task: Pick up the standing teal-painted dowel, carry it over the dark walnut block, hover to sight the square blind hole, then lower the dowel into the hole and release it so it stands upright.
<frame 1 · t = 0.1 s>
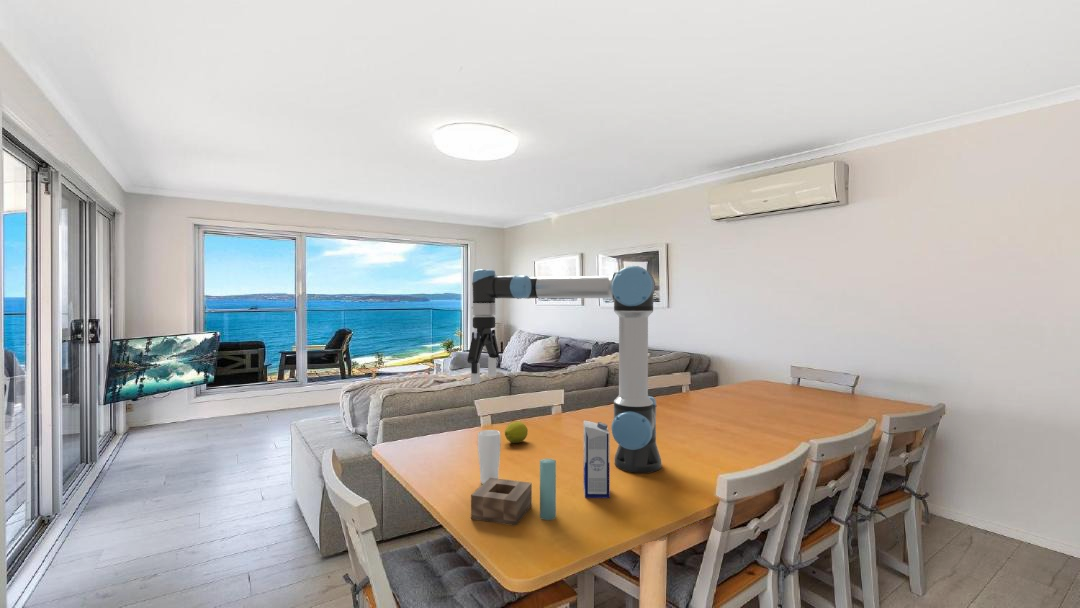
hand: (484, 379, 158), 28 cm above the table, fingers open, 13 cm apart
milk carton: (596, 493, 135), on the table
dowel: (547, 516, 120), on the table
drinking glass: (489, 483, 142), on the table
lemon: (515, 443, 181), on the table
bore block: (502, 511, 123), on the table
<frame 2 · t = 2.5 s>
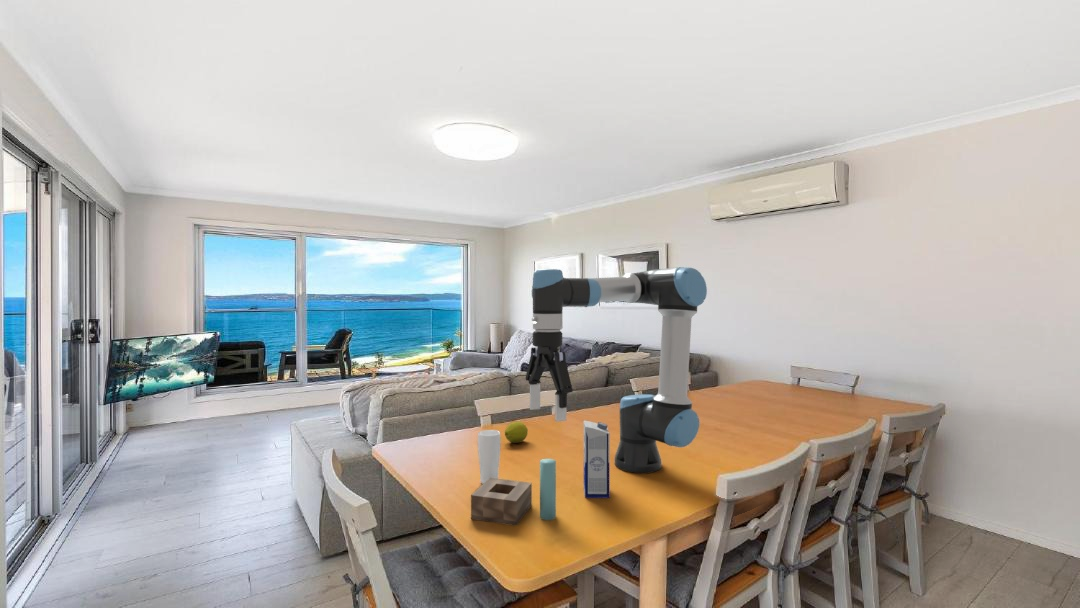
hand: (547, 414, 120), 26 cm above the table, fingers open, 13 cm apart
nothing on the table moved.
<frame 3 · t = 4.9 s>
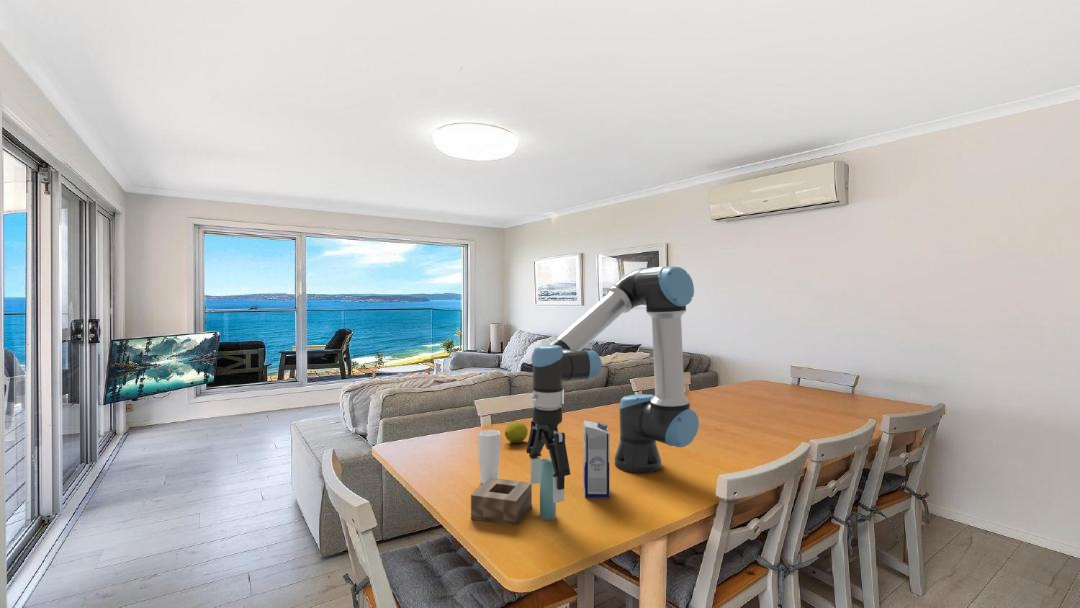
hand: (546, 491, 121), 6 cm above the table, fingers open, 12 cm apart
nothing on the table moved.
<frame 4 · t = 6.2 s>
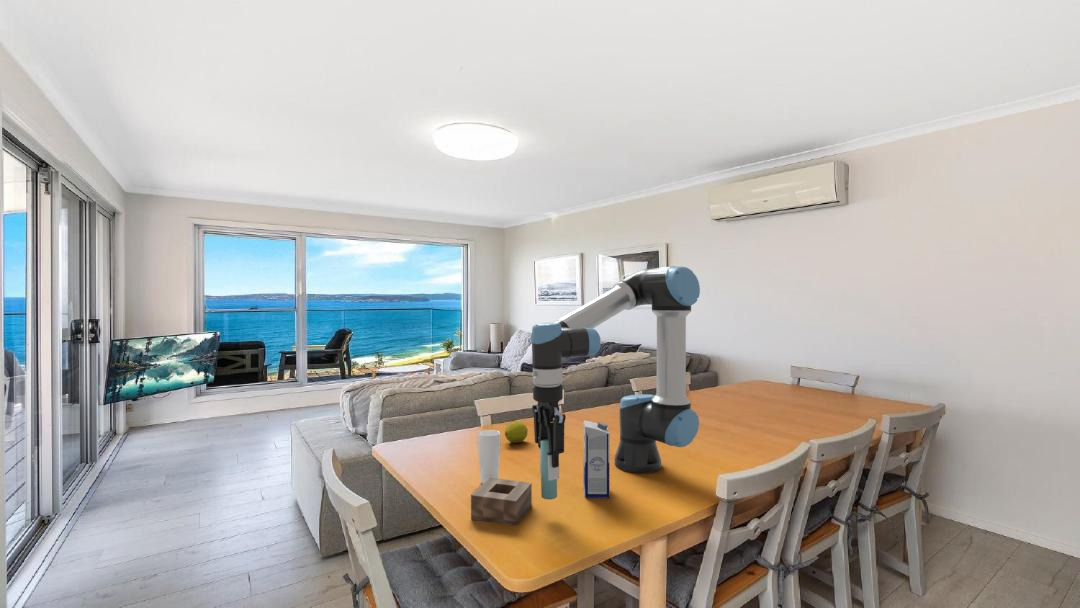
hand: (549, 475, 121), 10 cm above the table, fingers closed on dowel, 4 cm apart
dowel: (549, 496, 121), point 5 cm above the table, touching gripper
everything else where it was.
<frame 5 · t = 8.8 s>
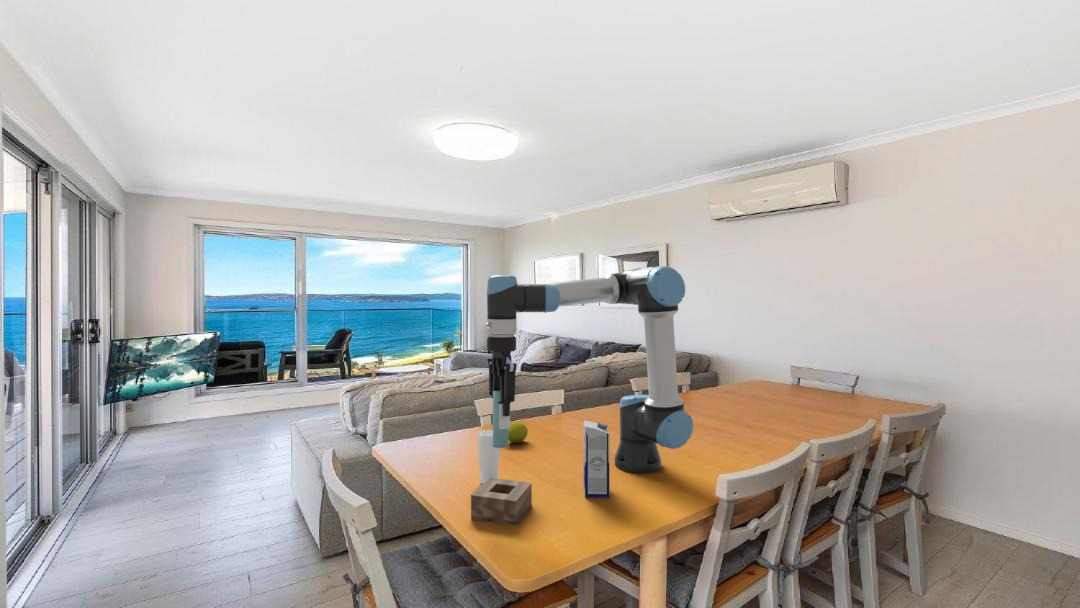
hand: (501, 426, 123), 22 cm above the table, fingers closed on dowel, 4 cm apart
dowel: (500, 445, 123), point 17 cm above the table, touching gripper
everything else where it was.
when the fingers open (7 cm above the table, at t = 11.4 s): dowel drops 1 cm, resting on bore block.
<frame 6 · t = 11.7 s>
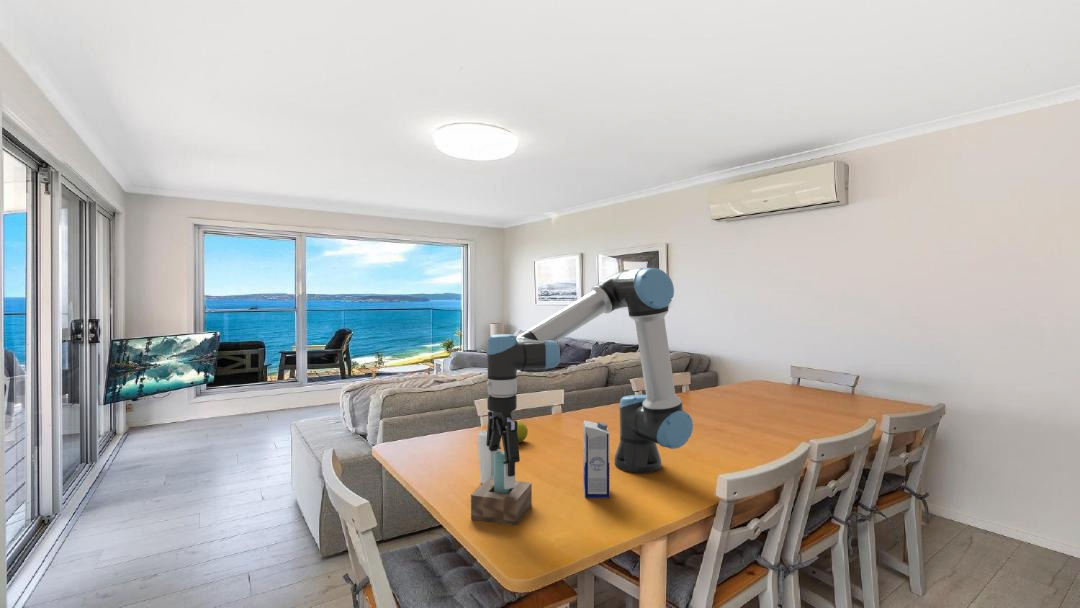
hand: (502, 481, 123), 8 cm above the table, fingers open, 9 cm apart
dowel: (501, 507, 123), point 1 cm above the table, touching bore block
everything else where it was.
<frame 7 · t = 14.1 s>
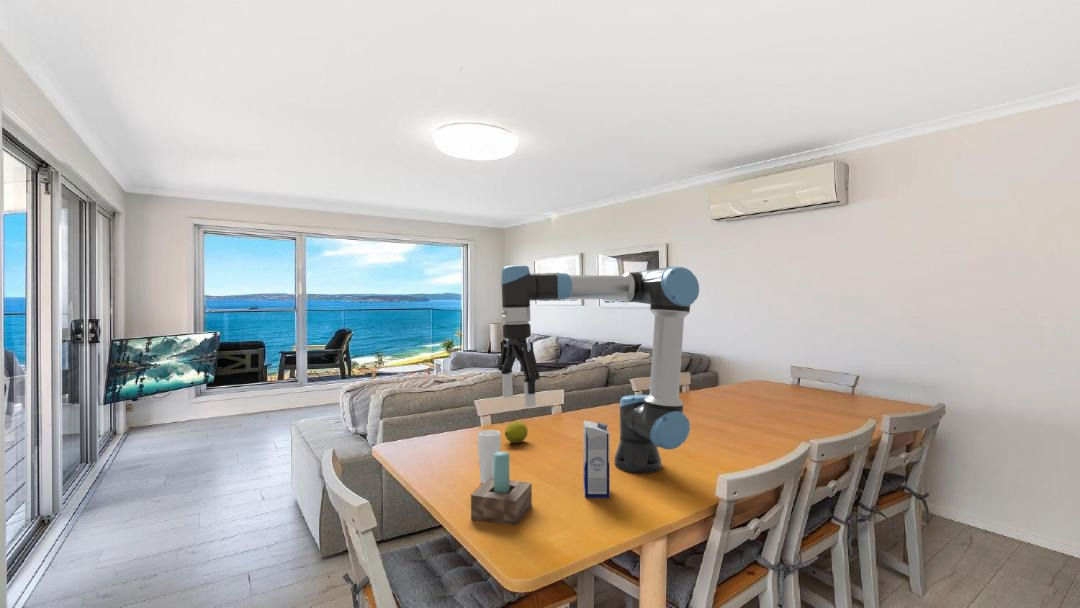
hand: (518, 401, 129), 27 cm above the table, fingers open, 13 cm apart
nothing on the table moved.
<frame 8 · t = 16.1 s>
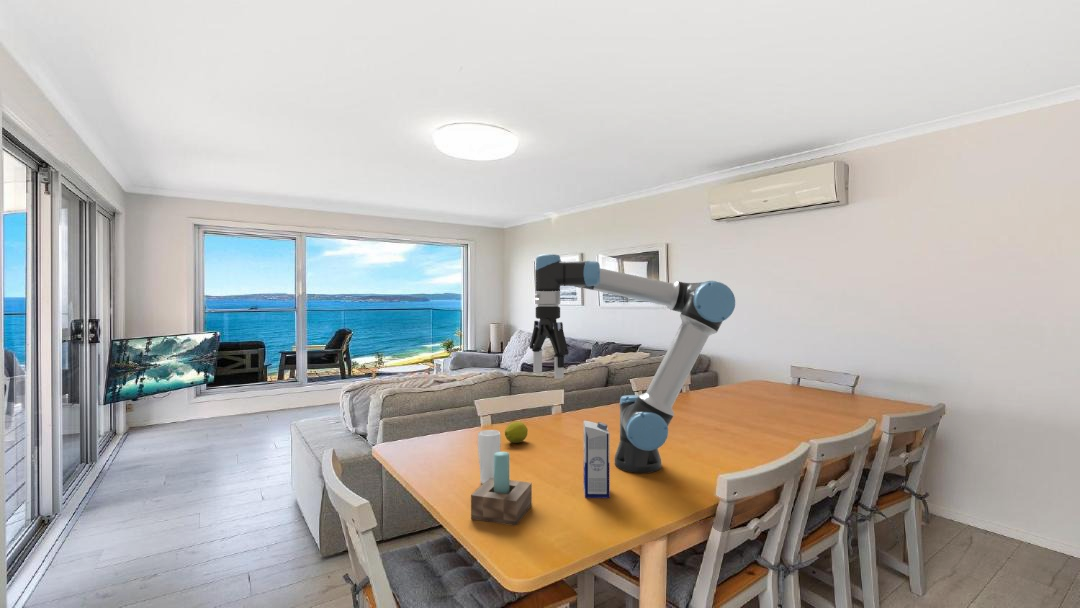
hand: (547, 375, 145), 32 cm above the table, fingers open, 13 cm apart
nothing on the table moved.
at the end: dowel 0.1 cm off-centre on the bore block, point 1.0 cm above the bore block's base; dowel tilted 0°; the gripper is holding nothing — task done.
